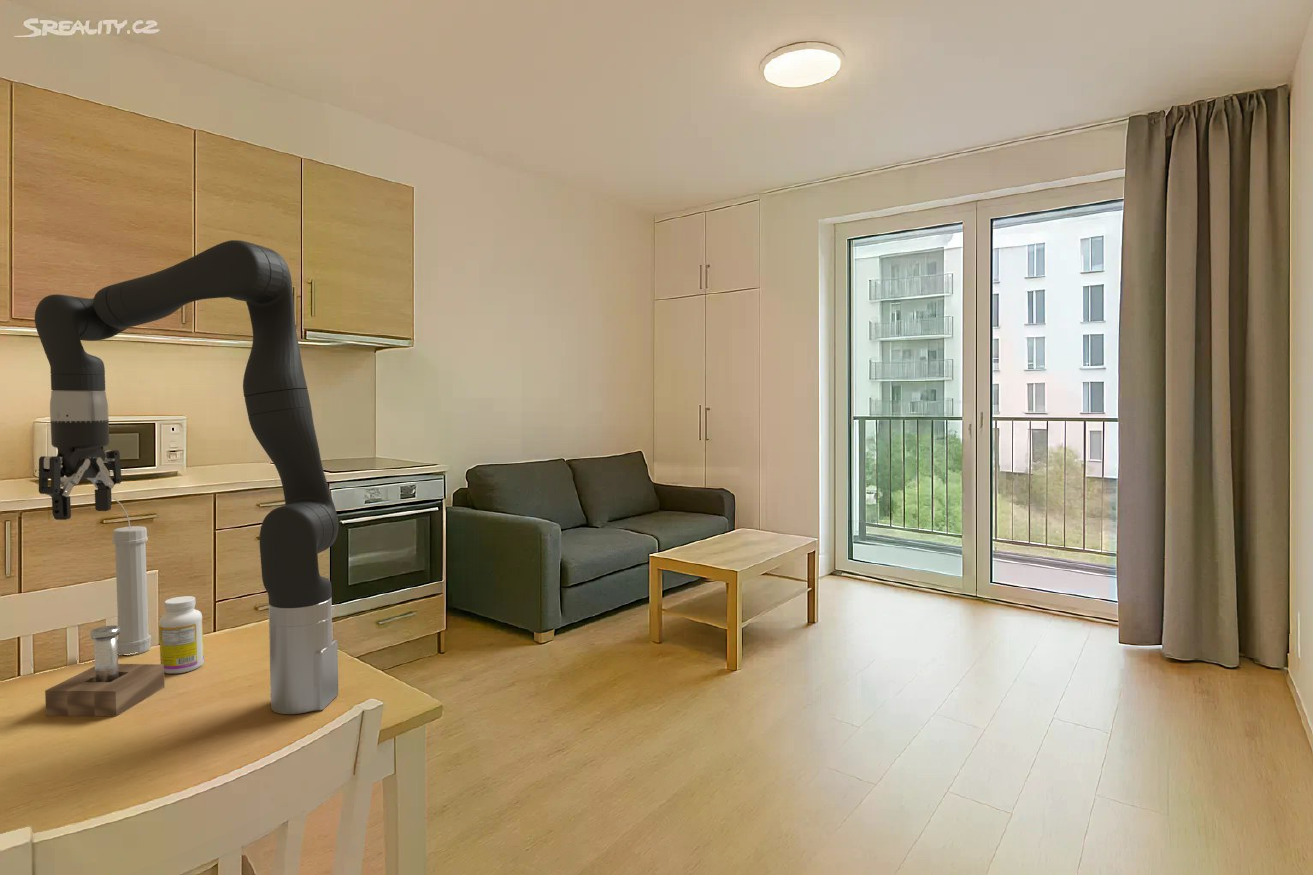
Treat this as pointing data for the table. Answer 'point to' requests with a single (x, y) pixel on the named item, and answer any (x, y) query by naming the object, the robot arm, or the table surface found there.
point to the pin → (105, 652)
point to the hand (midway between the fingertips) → (83, 514)
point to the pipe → (131, 588)
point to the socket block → (104, 691)
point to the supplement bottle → (181, 636)
